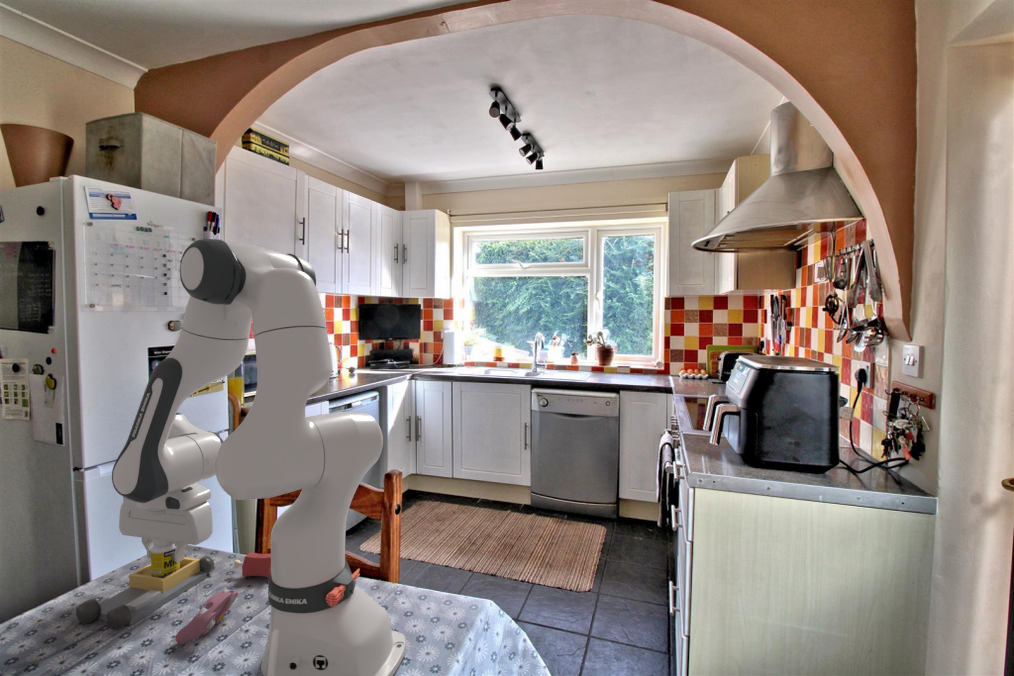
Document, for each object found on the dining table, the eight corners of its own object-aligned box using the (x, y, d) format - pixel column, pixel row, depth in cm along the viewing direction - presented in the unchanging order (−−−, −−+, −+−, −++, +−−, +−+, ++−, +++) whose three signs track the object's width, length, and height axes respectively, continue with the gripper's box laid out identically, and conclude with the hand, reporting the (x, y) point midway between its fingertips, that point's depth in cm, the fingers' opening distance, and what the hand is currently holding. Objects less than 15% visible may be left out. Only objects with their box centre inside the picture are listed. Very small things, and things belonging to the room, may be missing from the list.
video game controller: (194, 656, 79) (211, 620, 78) (170, 643, 79) (187, 607, 78) (231, 618, 89) (247, 586, 88) (209, 607, 89) (225, 575, 88)
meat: (225, 579, 98) (228, 553, 99) (239, 573, 103) (242, 549, 104) (281, 581, 97) (284, 555, 98) (292, 575, 102) (295, 551, 103)
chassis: (214, 573, 101) (214, 557, 101) (122, 631, 82) (121, 611, 82) (174, 567, 103) (173, 551, 103) (76, 622, 85) (75, 602, 85)
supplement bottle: (165, 583, 94) (163, 542, 94) (145, 580, 95) (143, 539, 95) (185, 570, 99) (184, 531, 98) (166, 568, 100) (165, 529, 99)
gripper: (108, 493, 96) (110, 560, 96) (190, 503, 91) (192, 573, 91) (139, 482, 102) (141, 545, 102) (217, 491, 97) (219, 557, 98)
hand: (166, 558), depth 97 cm, fingers closed on supplement bottle, 5 cm apart
